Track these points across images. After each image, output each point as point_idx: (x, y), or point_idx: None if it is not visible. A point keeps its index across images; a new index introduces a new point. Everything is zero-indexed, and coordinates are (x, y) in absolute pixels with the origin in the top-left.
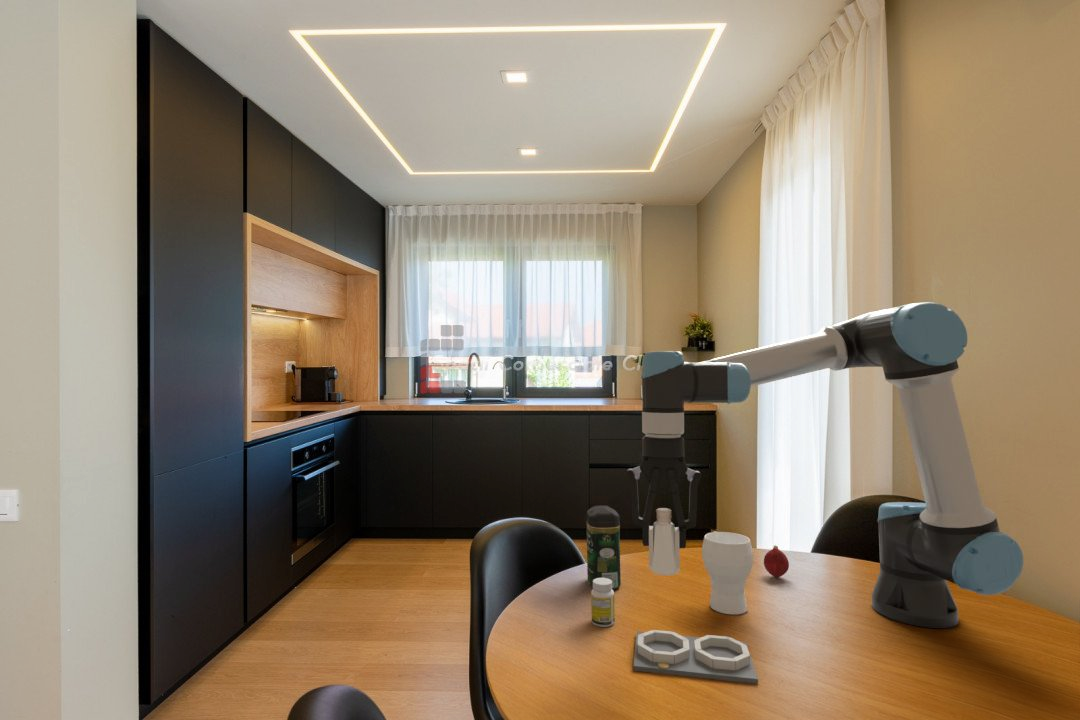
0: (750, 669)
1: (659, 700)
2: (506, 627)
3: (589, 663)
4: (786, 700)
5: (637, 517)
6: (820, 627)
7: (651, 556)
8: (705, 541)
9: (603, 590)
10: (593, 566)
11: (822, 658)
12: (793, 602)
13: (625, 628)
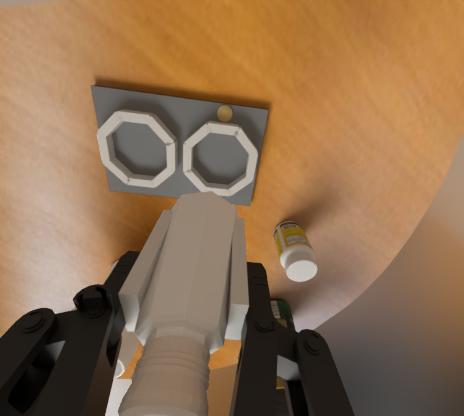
0: (102, 114)
1: (241, 17)
2: (418, 212)
3: (327, 125)
4: (53, 38)
5: (309, 365)
6: (26, 237)
7: (237, 233)
8: (124, 355)
9: (300, 253)
10: (291, 326)
11: (16, 164)
12: (61, 286)
13: (261, 220)
